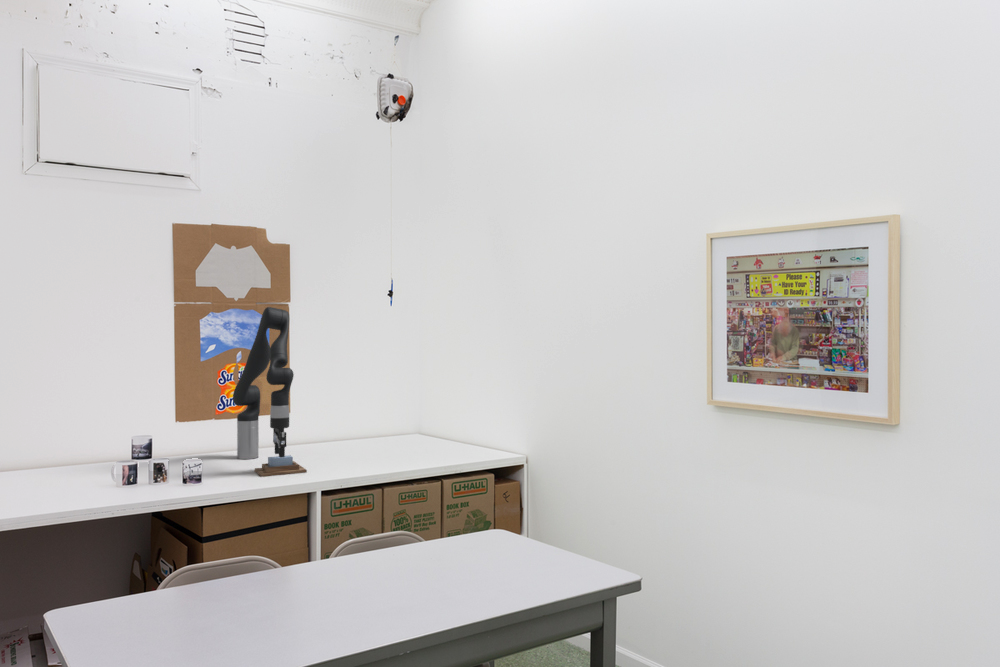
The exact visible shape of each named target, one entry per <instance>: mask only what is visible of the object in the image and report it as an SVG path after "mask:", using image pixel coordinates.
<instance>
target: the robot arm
mask: <svg viewBox="0 0 1000 667" xmlns="http://www.w3.org/2000/svg"><path fill="white" fill-rule="evenodd" d="M268 329H270V330H277V331H279V334H278V336H277V337H276V338H275V339H274V341H273V342H272V344H271V346H270V343H269V341H268V337H267V336H268V335H267V331H268ZM289 329H290V313H289V311H287V310H286V309H282V308H276V307H273V306H272V307H271V306H266V307H265V308H264V309H263V312H262V315H261V318H260V321H259V324H258V329H257V332H256V336H255V338H254V341H253V344H252V345H251V347H250V348H251V349H250V350H249V354H248V356H247V360H246V363H245V366H244V368H243V370H242V374H241V376H240V377H239V380H238V382H237V383H236V386H235V388H234V390H233V394H232V401H233V404H234V405H236V406H238V407H245V406H247V407H246V408H245V410H244V411H242V412H240V413H238V414H237V418H236V420H237V421H236V428H237V429H236V430H237V432H236V436H237V437H236V438H237V439H236V442H237V443H236V446H237V448H236V451H237V452H236V456H237V457H236V458H237V459H239V460H252V459H256V458H259V447H260V446H259V416H260V412H261V411H260V410H261V390H260V388H259V386H257V385H255V384H252V383H253V382H254V381H255V380H256V379H257V378H259V376H261V375H262V374H263V373H264V372H265V370H267V368H268V370H267V373H266V381H267V383H268V384H269V385H271V386H283V388H281V389H278V390H274V391H272V392H271V393H270V411H269V413H270V416H269V422H270V423H269V426H270V428H271V429H272V430H273V431H272V432H273V434H272V435H273V440H272V443H273V445H274V454H275V455H278V456H279V457H285V456H286V453H285V452H286V451H285V450H286V448H287V432H286V431H285V429H288V428H289V427H290V401H289V400H290V399H289V398H290V390H291V387H292V384H293V380H294V377H295V376H294V375H295V374H294V371H293V369H291V368H290V367H286V366H287V365H288V362H289V360H288V359H289V356H288V342H289V341H288V340H289V332H290V331H289ZM268 366H269V367H268Z"/></svg>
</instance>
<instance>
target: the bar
mask: <svg viewBox="0 0 1000 667" xmlns="http://www.w3.org/2000/svg"><path fill="white" fill-rule="evenodd" d="M293 458H294V457H293V456H292V455H290V454H289V455H285V457H279V455H278V456H277V455H276V456H268V457H267V463H268V467H275V466H286V465H293V461H294V459H293Z"/></svg>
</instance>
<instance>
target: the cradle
mask: <svg viewBox="0 0 1000 667" xmlns="http://www.w3.org/2000/svg"><path fill="white" fill-rule="evenodd" d="M254 472H256V473H257V475H258V476H259V477H261V478H262V477H272V476H273V477H274V476H281V475H282V476H284V475H292V474H293V475H294V474H304V473H307V469H306V468H304V467H303V466H302V465H300V464H299V463H297V462H296V461H294V460H293V465H286V466H275V467H268V462H266V463H261V467H256V468H254Z"/></svg>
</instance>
